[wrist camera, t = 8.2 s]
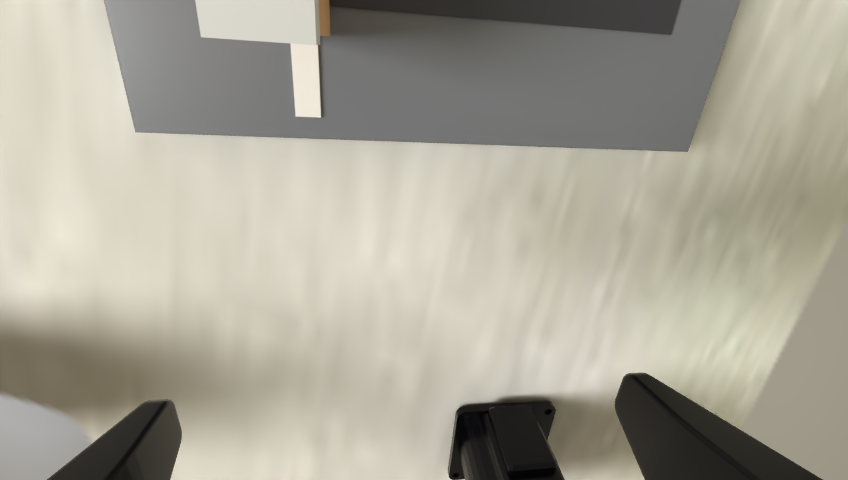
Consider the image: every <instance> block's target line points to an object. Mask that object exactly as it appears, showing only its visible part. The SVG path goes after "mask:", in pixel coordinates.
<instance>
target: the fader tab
mask: <svg viewBox="0 0 848 480" xmlns="http://www.w3.org/2000/svg"><path fill="white" fill-rule="evenodd" d="M195 2H196V9H197V15H198V22H199V28H200V34H201V37H205V38H219V39H234V40H248V41H263V42H277V43H291V44H306V45H320V36H330V7H329V0H195Z"/></svg>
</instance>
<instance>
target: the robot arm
mask: <svg viewBox="0 0 848 480" xmlns="http://www.w3.org/2000/svg"><path fill="white" fill-rule="evenodd" d="M615 410H616V413H617V416H618V418H619V420H620V423H621V425H622V427H623V430H624V432H625V434H626V437H627V439H628V441H629V444H630V446H631V448H632V451H633V453H634V455H635V458H636V460H637V462H638V465H639V467H640V469H641V472H642V474H643V476H644V478H645V480H822V479H821V478H819V477H817V476H816V475H814V474H812V473H811V472H809V471H807V470H806V469H804V468H802V467H801V466H799V465H797V464H796V463H794V462H792V461H791V460H789V459H787V458H786V457H784V456H783V455H781V454H779V453H778V452H776V451H774V450H773V449H771V448H769V447H768V446H766V445H764V444H762V443H761V442H759V441H758V440H756V439H754V438H753V437H751V436H749V435H748V434H746V433H744V432H743V431H741V430H740V429H738V428H736V427H735V426H733V425H731V424H730V423H728V422H726V421H725V420H723V419H721V418H720V417H718V416H716V415H715V414H713V413H711V412H710V411H708V410H706V409H705V408H703V407H702V406H700V405H698V404H697V403H695V402H693V401H692V400H690V399H688V398H687V397H685V396H683V395H682V394H680V393H678V392H677V391H675V390H673V389H672V388H670V387H668V386H667V385H665V384H664V383H662V382H660V381H659V380H657V379H655V378H654V377H652V376H650V375H648V374H646V373H629V374H626V375H625V376H624V378H623V380H622V383H621V385H620V388H619V391H618V394H617V396H616V399H615ZM555 411H556V409H555V407H554V405H553V404H552V403H551V402H548V401H545V402H530V403H515V404H500V405H484V406H469V407H461V408H459V409H458V410H457V411H456V415H455V422H454V430H453V437H452V444H451V451H450V459H449V466H448V473H449V478H450V479H452V480H459V479H465V480H565V479H564V477H563V475H562V473H561V471H560V468H559V466H558V464H557V461H556V459H555V457H554V454H553V452H552V450H551V448H550V446H549V444H548V441H547V439H548V436H549V432H550V429H551V425H552V422H553V418H554V415H555ZM181 438H182V431H181V426H180V423H179V419H178V416H177V412H176V408H175V405H174V403H173V402H172V401H171V400H168V399H164V400H149V401H146V402H144V403H142V404H141V405H140V406H138V407H137V408H136V409H135V410H133V411H132V412H131V413H130V414H128V415H127V416H126V417H125V418H123V419H122V420H121V421H120V422H118V423H117V424H116V425H115V426H113V427H112V428H111V429H110V430H108V431H107V432H106V433H105V434H103V435H102V436H101V437H100V438H98V439H97V440H96V441H95V442H93V443H92V444H91V445H90V446H88V447H87V448H86V449H85V450H83V451H82V452H81V453H80V454H78V455H77V456H76V457H75V458H73V459H72V460H71V461H70V462H69V463H67V464H66V465H65V466H63V467H62V468H61V469H60V470H58V471H57V472H56V473H55V474H53V475H52V476H51V477H50V478H48V479H47V480H170V478H171V475H172V471H173V468H174V465H175V461H176V458H177V454H178V451H179V447H180V444H181Z"/></svg>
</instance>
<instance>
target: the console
mask: <svg viewBox="0 0 848 480" xmlns="http://www.w3.org/2000/svg"><path fill="white" fill-rule="evenodd" d="M104 3H105V7H106V11H107V15H108V20H109V24H110V28H111V32H112V36H113V40H114V45H115V49H116V53H117V57H118V61H119V65H120V70H121V74H122V78H123V82H124V86H125V91H126V95H127V99H128V103H129V107H130V111H131V116H132V120H133V124H134V128H135V132H143V133H171V134H200V135H228V136H256V137H284V138H312V139H341V140H369V141H397V142H425V143H454V144H482V145H510V146H538V147H567V148H595V149H623V150H651V151H680V152H688V150H689V147H690V144H691V141H692V138H693V135H694V132H695V129H696V127H697V124H698V121H699V118H700V115H701V112H702V109H703V107H704V104H705V101H706V98H707V95H708V92H709V89H710V86H711V84H712V81H713V78H714V75H715V72H716V69H717V66H718V63H719V61H720V58H721V55H722V52H723V49H724V46H725V43H726V40H727V38H728V35H729V32H730V29H731V26H732V23H733V20H734V17H735V15H736V12H737V9H738V6H739V3H740V0H329V7H330V36H320V45H306V44H291V43H277V42H263V41H248V40H234V39H219V38H205V37H201V34H200V28H199V22H198V15H197V9H196V2H195V0H104Z"/></svg>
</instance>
